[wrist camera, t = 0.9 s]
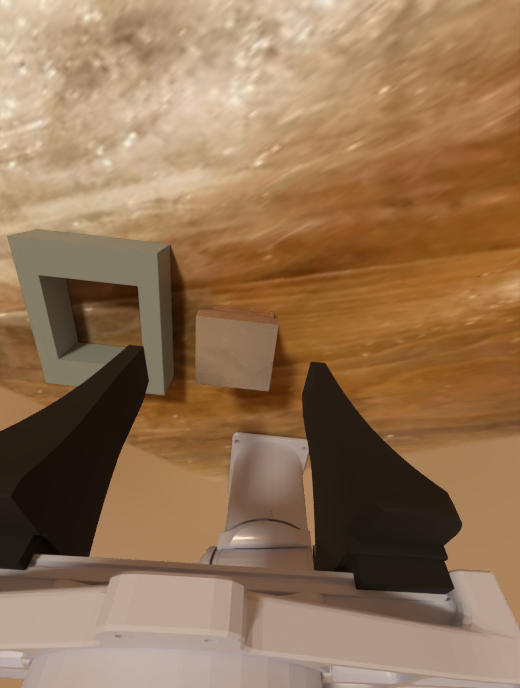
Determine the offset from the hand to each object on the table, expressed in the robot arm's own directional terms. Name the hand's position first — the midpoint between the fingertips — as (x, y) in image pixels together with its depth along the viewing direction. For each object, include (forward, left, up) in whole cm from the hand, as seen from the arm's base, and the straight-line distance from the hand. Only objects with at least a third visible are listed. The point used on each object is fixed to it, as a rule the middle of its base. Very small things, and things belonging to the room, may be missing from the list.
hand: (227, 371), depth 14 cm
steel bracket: (-4, 0, -13) cm, 13 cm away
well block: (-4, +11, -13) cm, 17 cm away
